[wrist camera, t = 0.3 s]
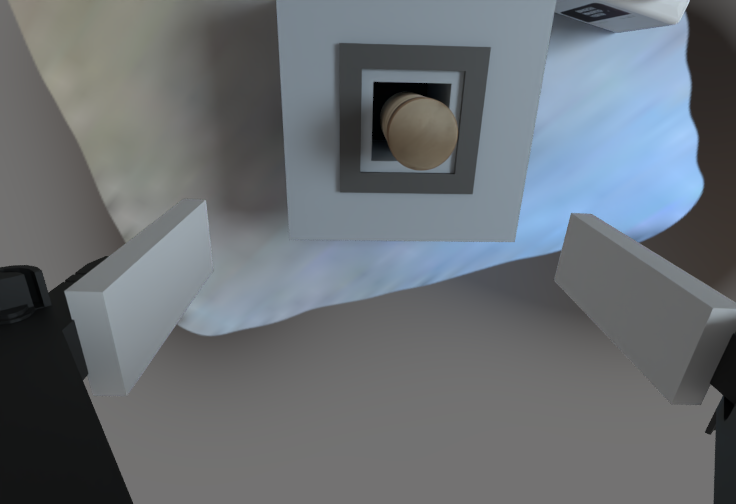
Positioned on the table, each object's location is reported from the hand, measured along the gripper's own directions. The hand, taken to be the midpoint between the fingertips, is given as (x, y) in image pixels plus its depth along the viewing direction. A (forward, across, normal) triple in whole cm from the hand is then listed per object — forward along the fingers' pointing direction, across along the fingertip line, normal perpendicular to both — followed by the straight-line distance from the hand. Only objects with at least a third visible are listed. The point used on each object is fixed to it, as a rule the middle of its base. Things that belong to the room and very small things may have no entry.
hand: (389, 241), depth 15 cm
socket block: (+27, +3, +2) cm, 27 cm away
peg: (+20, +3, +2) cm, 20 cm away
